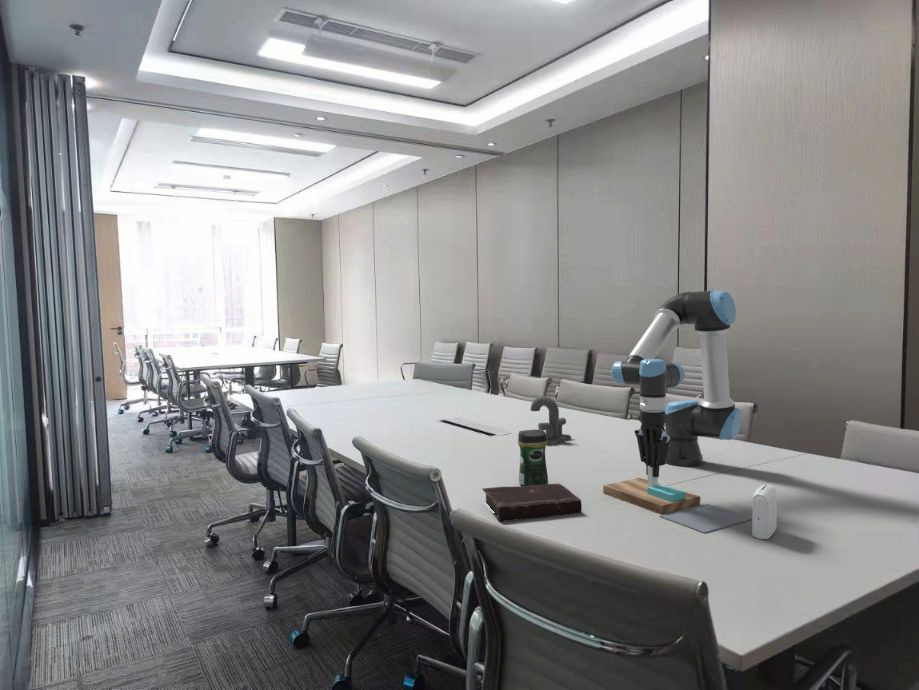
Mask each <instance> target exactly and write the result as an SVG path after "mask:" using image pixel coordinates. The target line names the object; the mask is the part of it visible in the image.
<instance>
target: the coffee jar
mask: <svg viewBox="0 0 919 690" xmlns="http://www.w3.org/2000/svg"><path fill="white" fill-rule="evenodd" d="M517 438H518V439H517V444H518V447H519V450H520V452H519V453H520V455H519V472H518V483H519V484H520V486H521V487H523V486H534V485H546V484H549V476H548V469H547V467H548V466H547V462H546V461H547V460H546V447H547V446H548V445H547V438H546V430H541V429H540V430H539V429H526V430H519V431H518V437H517Z"/></svg>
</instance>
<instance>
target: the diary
mask: <svg viewBox="0 0 919 690" xmlns="http://www.w3.org/2000/svg"><path fill="white" fill-rule="evenodd" d="M481 489H482V491H483V492H484V493H485V502H486V503H487V504H488V505H489V506H490V508H491V509H492V510H493V511H494V512H495V513H496V514H497V515H498V516H499V518H497V520H498V521H500V522H502V521H501V520H509V521H514V520H513V519H518V520H526V519H527V518H528V519H539V518H547V517H548V516H549V517H556V515H558V516H565V514H568V515H575V514H574V513H579V514H582V500H581V498H579V496H577V495H575V494H574V493H573V492H572V491H570V489H569V488H567V487H566V486H565V485H562V484H561V483H558V482H557V483H548V484H546V485H534V486H495V487H486V488H481ZM496 514H495V515H496ZM497 515H496V516H497ZM528 519H527V520H528Z"/></svg>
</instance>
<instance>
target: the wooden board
mask: <svg viewBox="0 0 919 690" xmlns="http://www.w3.org/2000/svg"><path fill="white" fill-rule="evenodd" d="M658 485H661V483H658ZM647 487H648V479H645V478H642V477H637V478H632V479H627V480H623V481H618V482H613V483H608V484H604V485H603V487H602V488H603V489H602V491H603V492H602V493H603V494H605V495H608V496H610V497H613V498H616V499H619V500H622V501H624V502H628V503H629V504H632V505H635V506H637V507H641V508H643V509H646V510H648V509H649V510H648V511H651V512H654V513H656V512H657V514H660V515H665V514H668V513H669V512H670V513H672V512H673V511H674V512H676V511H677V510H678V511H680V510H681V509H682V510H684V509H688V508H692V507H696V506H700V505H701V495H697V494H693V493H691V492H687V491H684V492H685V499H681V500H677V501H673V502H669V501H666V500H664V499H661V498H658V497H655V496H652V495H649V494H647Z"/></svg>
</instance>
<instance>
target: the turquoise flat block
mask: <svg viewBox="0 0 919 690" xmlns="http://www.w3.org/2000/svg"><path fill="white" fill-rule="evenodd" d="M660 484H661V483H660ZM685 492H686V491H684V490H681V489H679V488H678V489H677V488H674V487H672V486H668V485H665V484H661V485H657V486H652V487H647V494H649V495H652V496H655V497H658V498H661V499H664V500H666V501H669V502H673V501H677V500H681V499H685Z"/></svg>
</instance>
